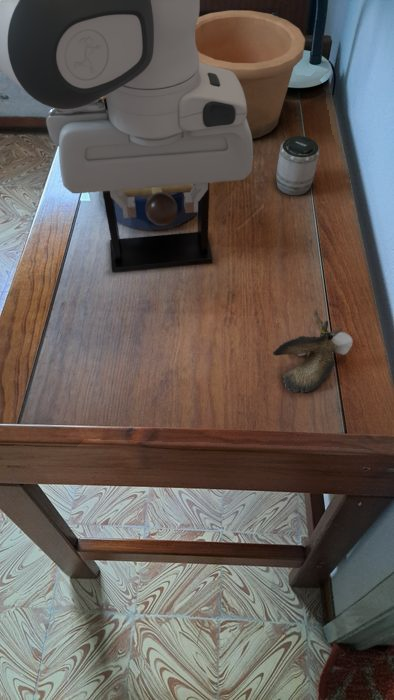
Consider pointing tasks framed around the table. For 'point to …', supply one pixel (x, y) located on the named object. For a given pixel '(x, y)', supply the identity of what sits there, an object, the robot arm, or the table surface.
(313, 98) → the table surface
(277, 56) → the pottery
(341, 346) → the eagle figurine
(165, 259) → the stand
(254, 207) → the table surface
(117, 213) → the navy blue bowl
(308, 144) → the camera lens
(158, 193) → the tan piece
